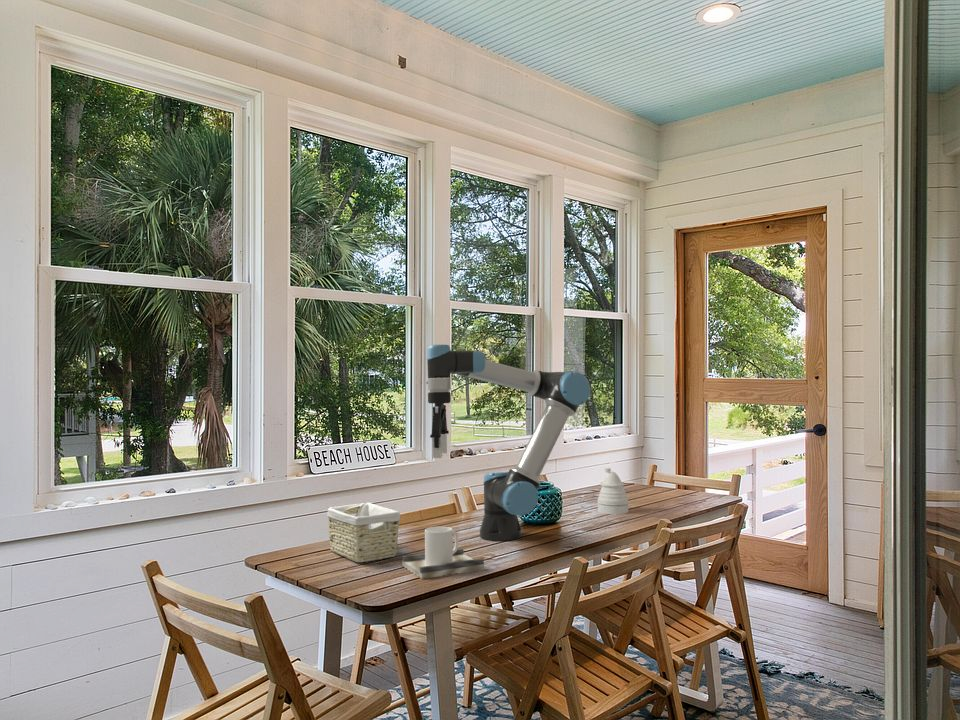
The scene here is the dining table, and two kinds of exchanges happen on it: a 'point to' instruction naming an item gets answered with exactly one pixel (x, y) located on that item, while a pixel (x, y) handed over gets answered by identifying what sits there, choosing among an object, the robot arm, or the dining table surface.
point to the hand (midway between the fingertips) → (440, 455)
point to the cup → (439, 545)
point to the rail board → (442, 565)
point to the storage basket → (363, 531)
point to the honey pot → (612, 495)
